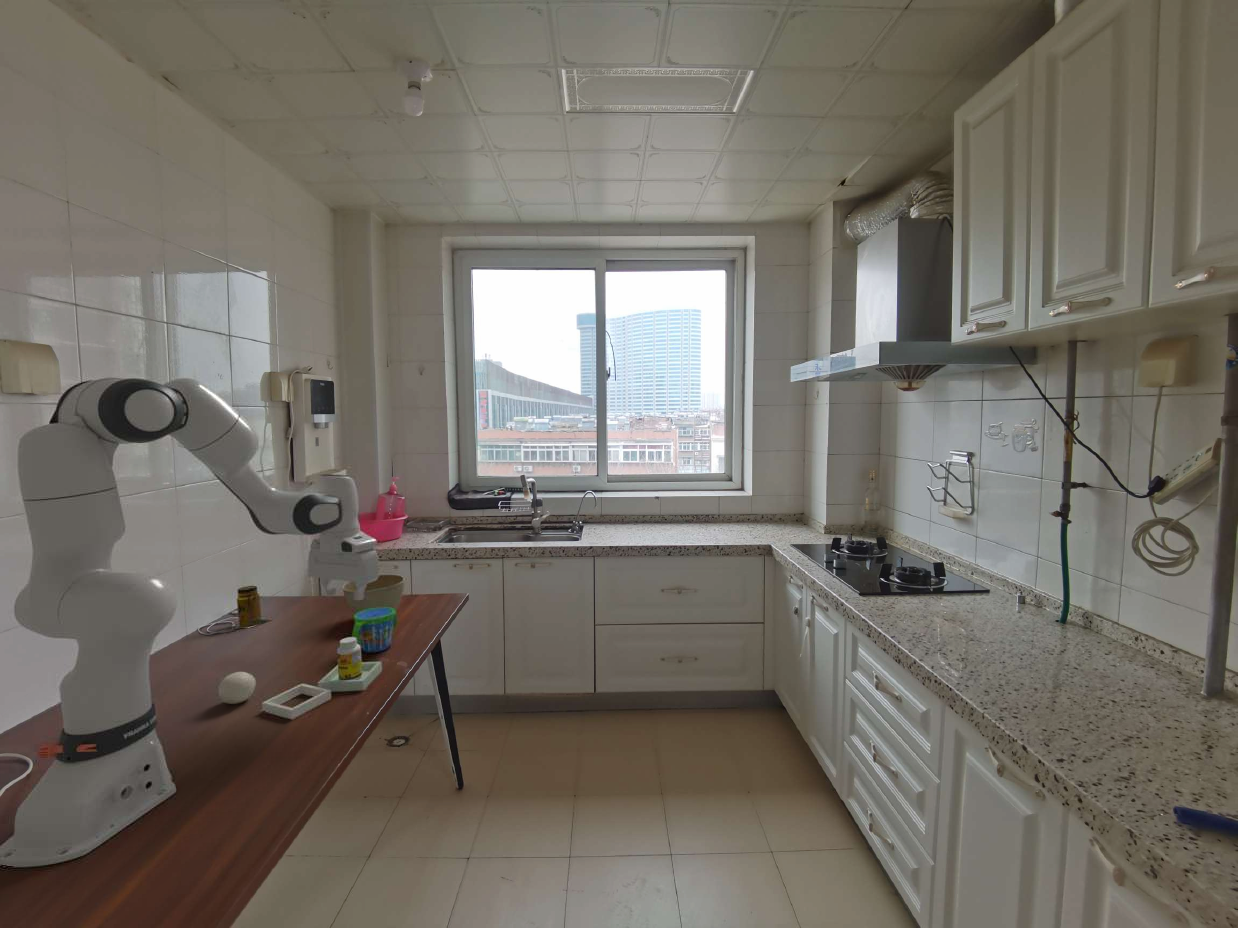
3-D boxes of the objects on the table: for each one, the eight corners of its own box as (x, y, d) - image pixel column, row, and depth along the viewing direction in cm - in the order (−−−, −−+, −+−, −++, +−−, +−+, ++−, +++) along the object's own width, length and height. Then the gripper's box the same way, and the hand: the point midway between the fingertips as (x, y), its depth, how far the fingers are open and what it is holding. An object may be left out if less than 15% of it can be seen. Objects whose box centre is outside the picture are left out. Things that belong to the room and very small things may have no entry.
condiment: (232, 626, 179) (229, 589, 178) (257, 617, 187) (254, 582, 186) (249, 629, 177) (245, 591, 176) (273, 619, 184) (270, 583, 184)
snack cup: (384, 635, 167) (382, 602, 166) (412, 640, 163) (409, 605, 162) (339, 656, 152) (336, 620, 152) (368, 662, 148) (365, 624, 147)
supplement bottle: (334, 680, 136) (331, 641, 136) (353, 671, 141) (350, 634, 140) (348, 684, 134) (345, 645, 133) (367, 675, 138) (364, 637, 138)
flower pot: (350, 614, 187) (347, 578, 186) (408, 606, 193) (405, 572, 192) (341, 633, 170) (338, 593, 169) (404, 624, 175) (402, 586, 174)
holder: (331, 698, 129) (330, 690, 129) (292, 719, 120) (291, 710, 120) (302, 691, 133) (302, 683, 133) (262, 711, 124) (262, 702, 124)
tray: (363, 690, 132) (363, 680, 132) (318, 692, 132) (317, 682, 132) (382, 670, 143) (381, 661, 143) (340, 671, 143) (339, 663, 143)
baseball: (264, 694, 132) (262, 667, 131) (236, 710, 125) (233, 681, 124) (242, 692, 134) (239, 664, 133) (212, 707, 127) (209, 678, 126)
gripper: (299, 541, 136) (303, 597, 137) (360, 546, 128) (364, 605, 129) (322, 536, 142) (326, 589, 143) (382, 540, 134) (385, 597, 135)
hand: (344, 597), depth 136 cm, fingers open, 8 cm apart
